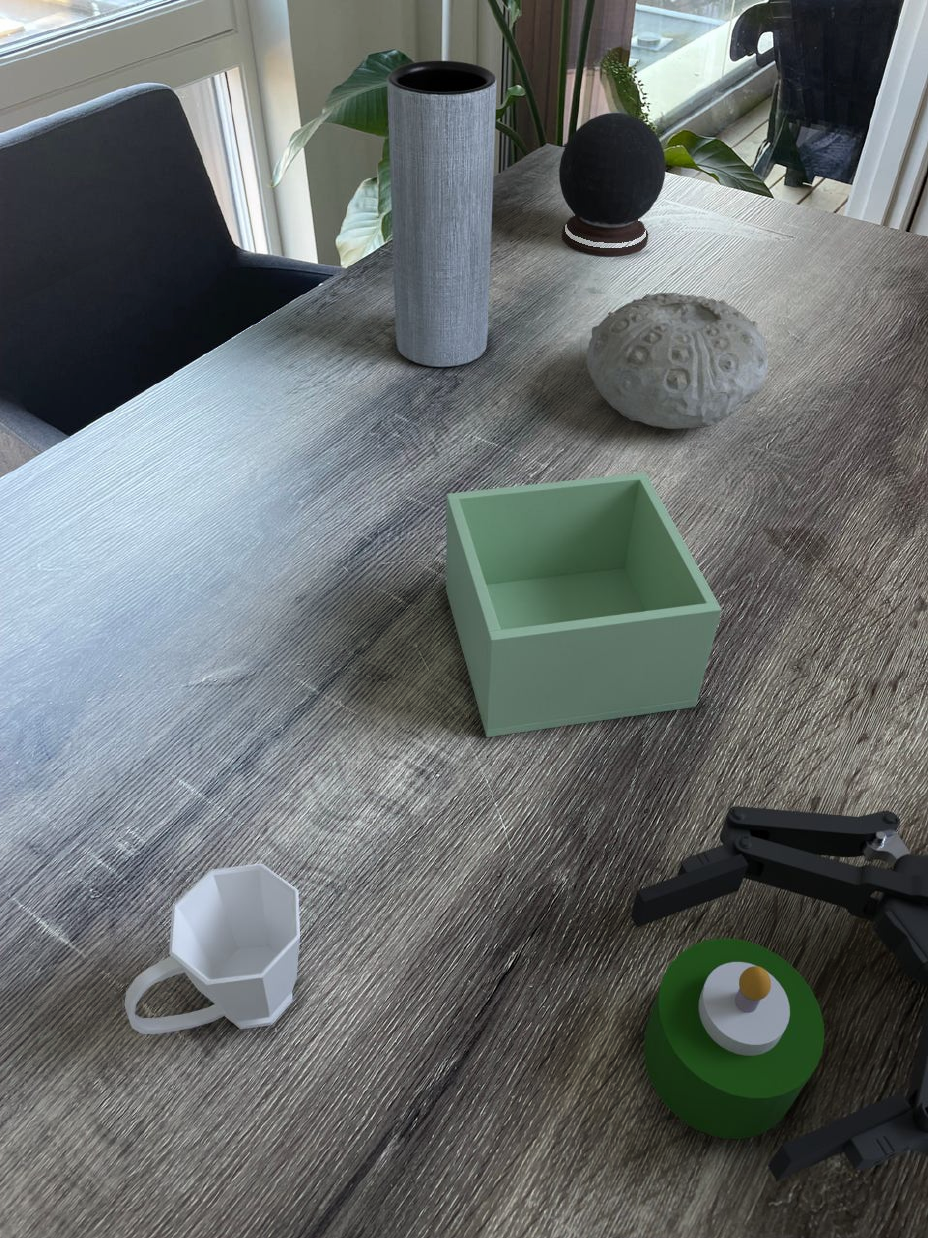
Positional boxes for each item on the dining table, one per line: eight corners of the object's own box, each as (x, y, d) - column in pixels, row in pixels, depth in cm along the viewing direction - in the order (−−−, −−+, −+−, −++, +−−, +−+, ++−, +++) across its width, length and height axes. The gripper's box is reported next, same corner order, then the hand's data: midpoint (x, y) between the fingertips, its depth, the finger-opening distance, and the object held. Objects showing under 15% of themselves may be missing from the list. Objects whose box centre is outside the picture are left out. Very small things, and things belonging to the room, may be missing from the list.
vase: (468, 317, 114) (473, 55, 96) (500, 359, 108) (513, 86, 89) (384, 331, 112) (373, 64, 93) (413, 375, 105) (406, 97, 86)
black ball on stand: (603, 209, 137) (616, 90, 127) (676, 241, 130) (696, 118, 120) (533, 234, 131) (540, 111, 120) (605, 269, 124) (620, 142, 113)
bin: (695, 707, 73) (722, 609, 66) (486, 737, 70) (491, 640, 63) (629, 567, 84) (645, 471, 77) (446, 590, 81) (446, 493, 74)
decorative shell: (562, 364, 107) (570, 274, 100) (717, 349, 110) (736, 261, 103) (613, 459, 95) (627, 365, 88) (787, 439, 98) (814, 347, 91)
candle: (672, 961, 58) (703, 868, 51) (813, 1027, 56) (866, 938, 49) (621, 1090, 53) (648, 1007, 46) (774, 1170, 50) (827, 1094, 44)
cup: (338, 1013, 56) (327, 942, 50) (166, 1109, 52) (132, 1044, 47) (287, 915, 60) (271, 840, 55) (124, 997, 56) (89, 925, 51)
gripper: (1187, 1140, 50) (832, 1323, 44) (872, 764, 66) (584, 862, 61) (1275, 1081, 44) (884, 1279, 39) (908, 689, 61) (597, 788, 55)
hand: (700, 1025), depth 50 cm, fingers open, 13 cm apart
